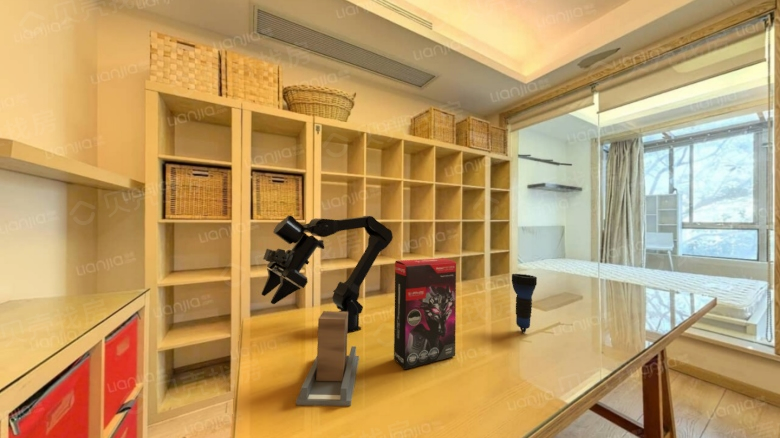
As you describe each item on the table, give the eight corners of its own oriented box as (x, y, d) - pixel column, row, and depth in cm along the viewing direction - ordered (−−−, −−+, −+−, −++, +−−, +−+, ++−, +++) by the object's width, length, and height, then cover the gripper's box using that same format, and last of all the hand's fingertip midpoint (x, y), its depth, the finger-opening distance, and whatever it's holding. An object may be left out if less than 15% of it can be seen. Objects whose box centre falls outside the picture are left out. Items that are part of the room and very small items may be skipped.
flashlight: (522, 326, 99) (524, 272, 99) (540, 335, 92) (542, 277, 92) (505, 328, 97) (506, 273, 97) (522, 337, 89) (524, 278, 89)
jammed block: (321, 368, 65) (323, 311, 65) (346, 368, 65) (348, 311, 65) (316, 380, 60) (318, 318, 60) (343, 381, 60) (345, 319, 60)
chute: (318, 358, 72) (318, 345, 72) (358, 359, 72) (359, 346, 72) (296, 405, 54) (296, 387, 54) (350, 406, 54) (351, 388, 54)
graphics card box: (403, 372, 67) (407, 263, 67) (390, 358, 73) (394, 259, 73) (456, 357, 75) (459, 261, 75) (440, 347, 81) (443, 257, 81)
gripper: (270, 235, 84) (235, 278, 78) (291, 240, 69) (250, 293, 63) (297, 254, 89) (266, 296, 83) (322, 262, 75) (287, 313, 69)
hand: (267, 299), depth 75 cm, fingers open, 9 cm apart
